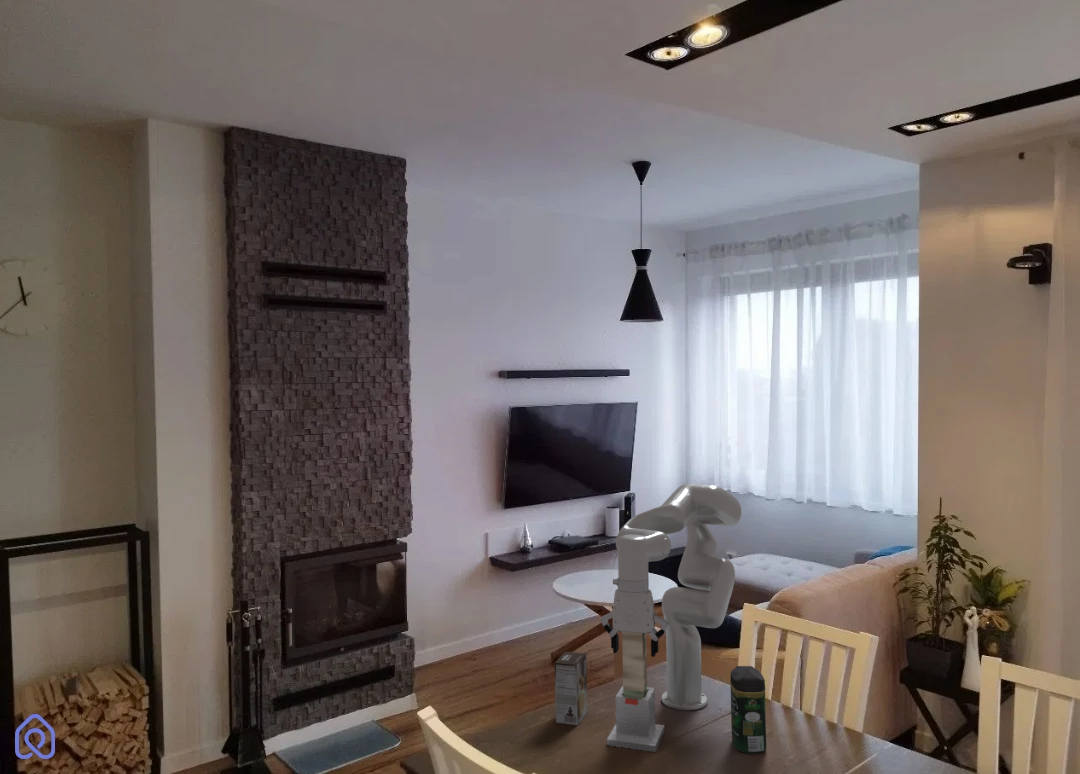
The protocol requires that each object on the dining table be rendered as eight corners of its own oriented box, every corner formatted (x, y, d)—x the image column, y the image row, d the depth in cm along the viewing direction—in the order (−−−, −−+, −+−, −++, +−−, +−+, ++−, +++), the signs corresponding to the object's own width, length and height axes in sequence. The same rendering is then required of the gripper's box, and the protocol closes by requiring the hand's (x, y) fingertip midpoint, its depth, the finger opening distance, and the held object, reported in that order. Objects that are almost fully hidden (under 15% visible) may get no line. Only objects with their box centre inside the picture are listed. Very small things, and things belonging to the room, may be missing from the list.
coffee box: (565, 709, 213) (564, 650, 213) (588, 712, 211) (587, 652, 211) (555, 723, 204) (554, 662, 204) (578, 726, 202) (577, 664, 202)
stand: (618, 725, 202) (617, 681, 202) (664, 731, 198) (663, 686, 198) (606, 745, 191) (606, 698, 191) (655, 752, 187) (654, 704, 187)
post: (628, 699, 198) (626, 621, 198) (647, 701, 196) (646, 622, 196) (623, 707, 193) (622, 626, 193) (643, 709, 191) (642, 628, 191)
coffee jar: (728, 736, 194) (727, 662, 194) (760, 737, 194) (759, 662, 194) (735, 755, 185) (734, 677, 185) (769, 755, 184) (768, 677, 184)
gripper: (596, 586, 194) (597, 654, 194) (665, 591, 188) (666, 661, 188) (603, 579, 201) (605, 645, 201) (670, 583, 195) (671, 651, 195)
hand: (634, 653), depth 195 cm, fingers open, 9 cm apart
